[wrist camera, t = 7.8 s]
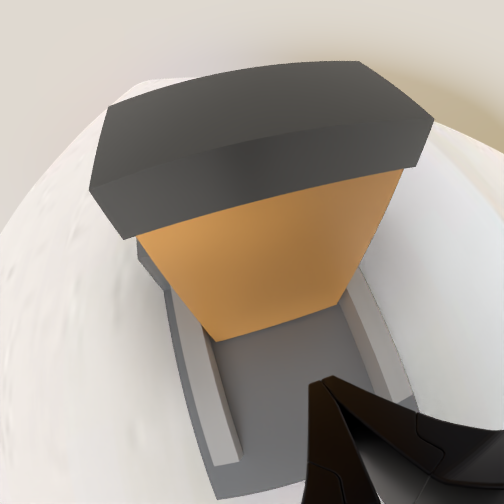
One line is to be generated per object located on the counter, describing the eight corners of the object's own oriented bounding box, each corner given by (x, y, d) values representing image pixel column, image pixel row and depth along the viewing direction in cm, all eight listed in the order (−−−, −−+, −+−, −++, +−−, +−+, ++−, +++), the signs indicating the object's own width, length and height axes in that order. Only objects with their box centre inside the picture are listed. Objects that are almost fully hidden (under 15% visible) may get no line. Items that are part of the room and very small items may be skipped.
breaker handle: (341, 306, 15) (434, 118, 5) (213, 346, 14) (88, 190, 4) (318, 257, 17) (359, 61, 7) (200, 291, 16) (108, 106, 6)
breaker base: (415, 424, 12) (466, 423, 7) (220, 494, 11) (197, 528, 6) (323, 214, 20) (334, 159, 16) (163, 258, 19) (133, 211, 15)
